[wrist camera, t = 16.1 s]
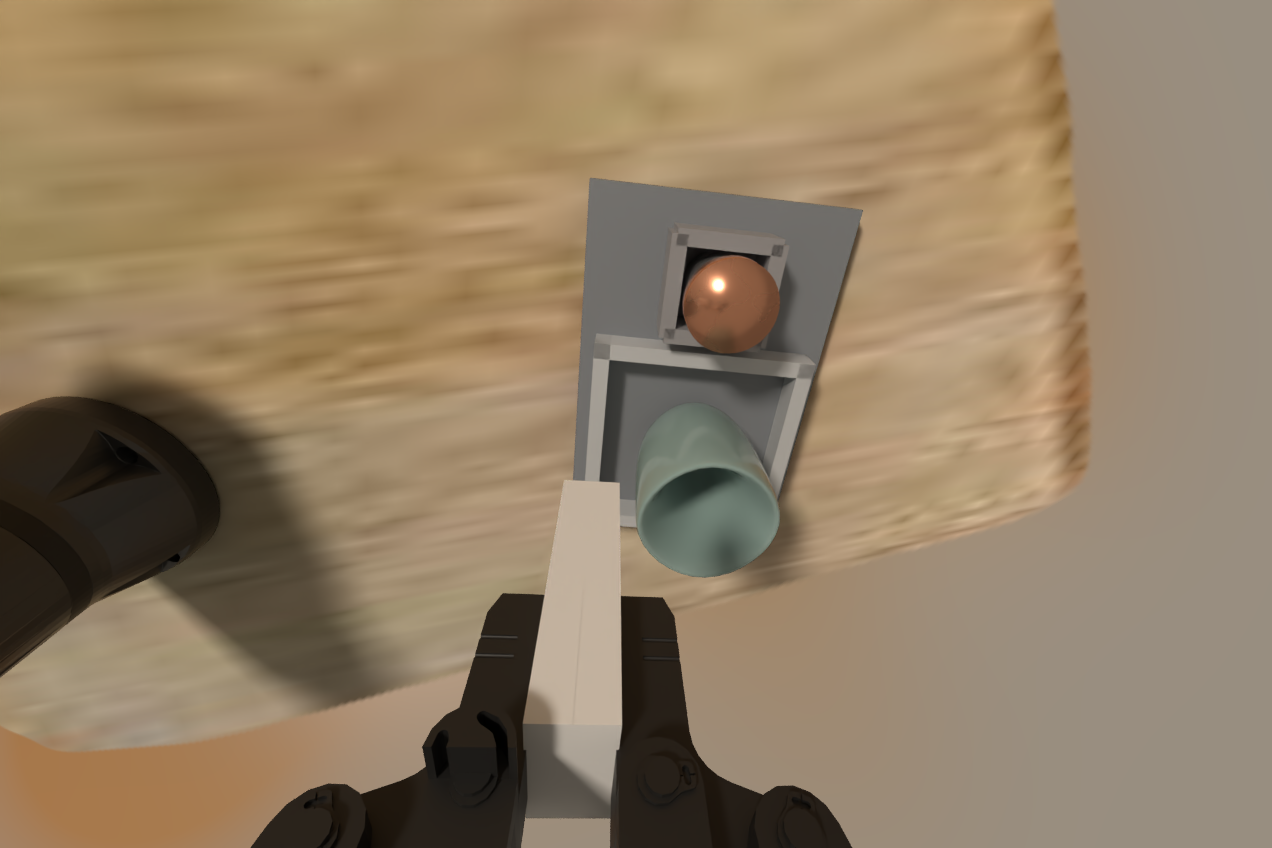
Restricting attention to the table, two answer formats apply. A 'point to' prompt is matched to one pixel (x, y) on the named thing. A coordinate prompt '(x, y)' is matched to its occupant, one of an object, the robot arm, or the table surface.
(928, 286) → the table surface
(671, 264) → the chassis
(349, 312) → the table surface
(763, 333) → the plunger
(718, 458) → the cup
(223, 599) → the table surface
